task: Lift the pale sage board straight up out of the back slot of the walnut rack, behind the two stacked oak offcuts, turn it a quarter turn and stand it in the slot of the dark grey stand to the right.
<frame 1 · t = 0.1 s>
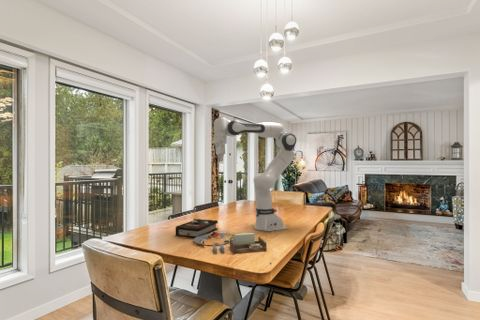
hand: (220, 161, 188), 48 cm above the table, tool pointing down, fingers open, 8 cm apart
decorative book: (197, 233, 184), on the table
stand: (218, 253, 142), on the table
rack: (247, 250, 145), on the table
board: (244, 247, 148), point 1 cm above the table, touching rack
food plate: (215, 242, 163), on the table
offcut upper: (255, 246, 144), point 2 cm above the table, touching offcut lower
offcut lower: (256, 249, 144), point 1 cm above the table, touching offcut upper, rack
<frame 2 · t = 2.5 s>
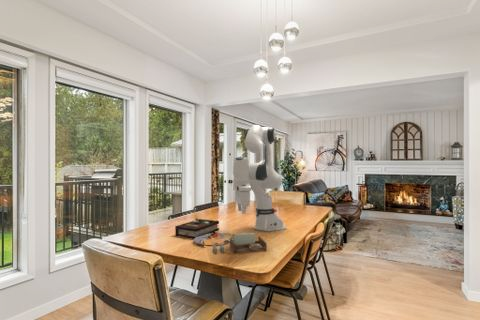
hand: (241, 212, 148), 20 cm above the table, tool pointing down, fingers open, 8 cm apart
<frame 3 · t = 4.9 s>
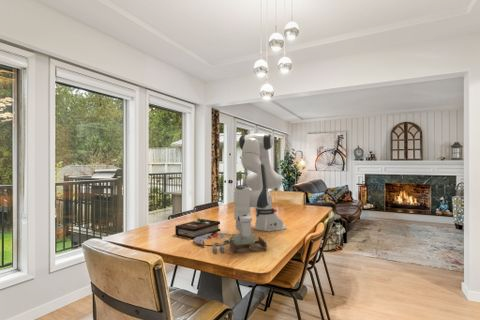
hand: (242, 241, 147), 4 cm above the table, tool pointing down, fingers closed on board, 2 cm apart
board: (244, 247, 148), point 1 cm above the table, touching gripper, rack
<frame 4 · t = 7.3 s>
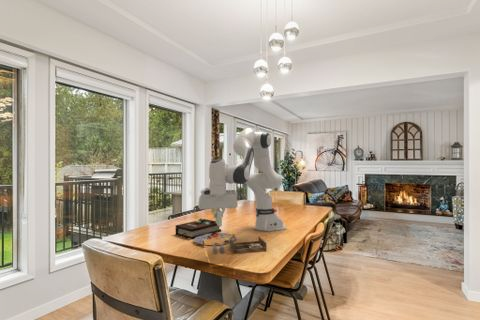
hand: (218, 217, 142), 19 cm above the table, tool pointing down, fingers closed on board
board: (218, 223, 141), point 15 cm above the table, touching gripper
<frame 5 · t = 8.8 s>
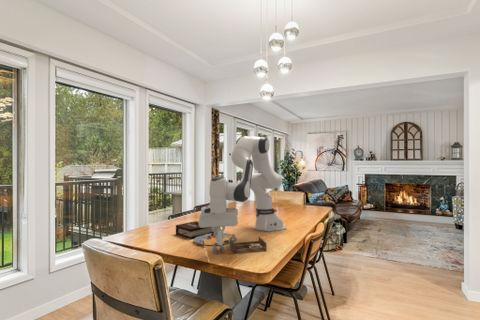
hand: (218, 235, 141), 9 cm above the table, tool pointing down, fingers closed on board
board: (218, 241, 140), point 6 cm above the table, touching gripper
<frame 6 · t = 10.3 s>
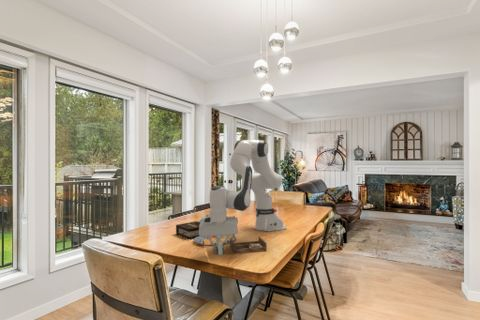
hand: (218, 244, 142), 5 cm above the table, tool pointing down, fingers open, 6 cm apart
board: (219, 252, 141), point 1 cm above the table, touching stand
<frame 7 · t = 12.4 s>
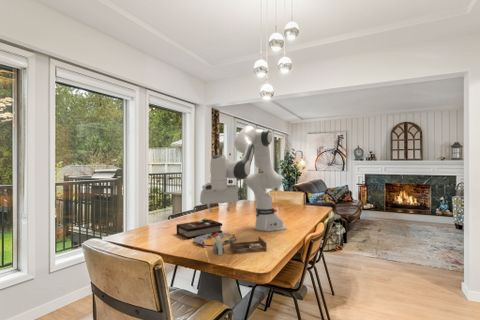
hand: (219, 211, 145), 21 cm above the table, tool pointing down, fingers open, 8 cm apart
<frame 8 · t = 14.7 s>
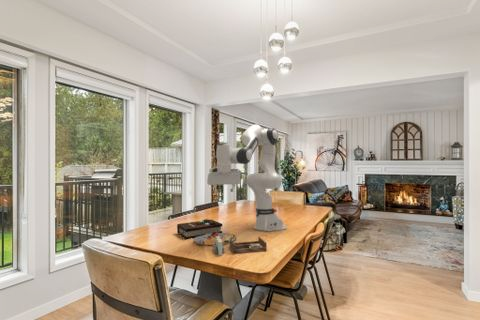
hand: (224, 192, 166), 29 cm above the table, tool pointing down, fingers open, 8 cm apart
at the end: board inside the target area on the stand (0.9 cm from its centre), point 0.6 cm above the stand's base; board tilted 0°; the gripper is holding nothing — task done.
